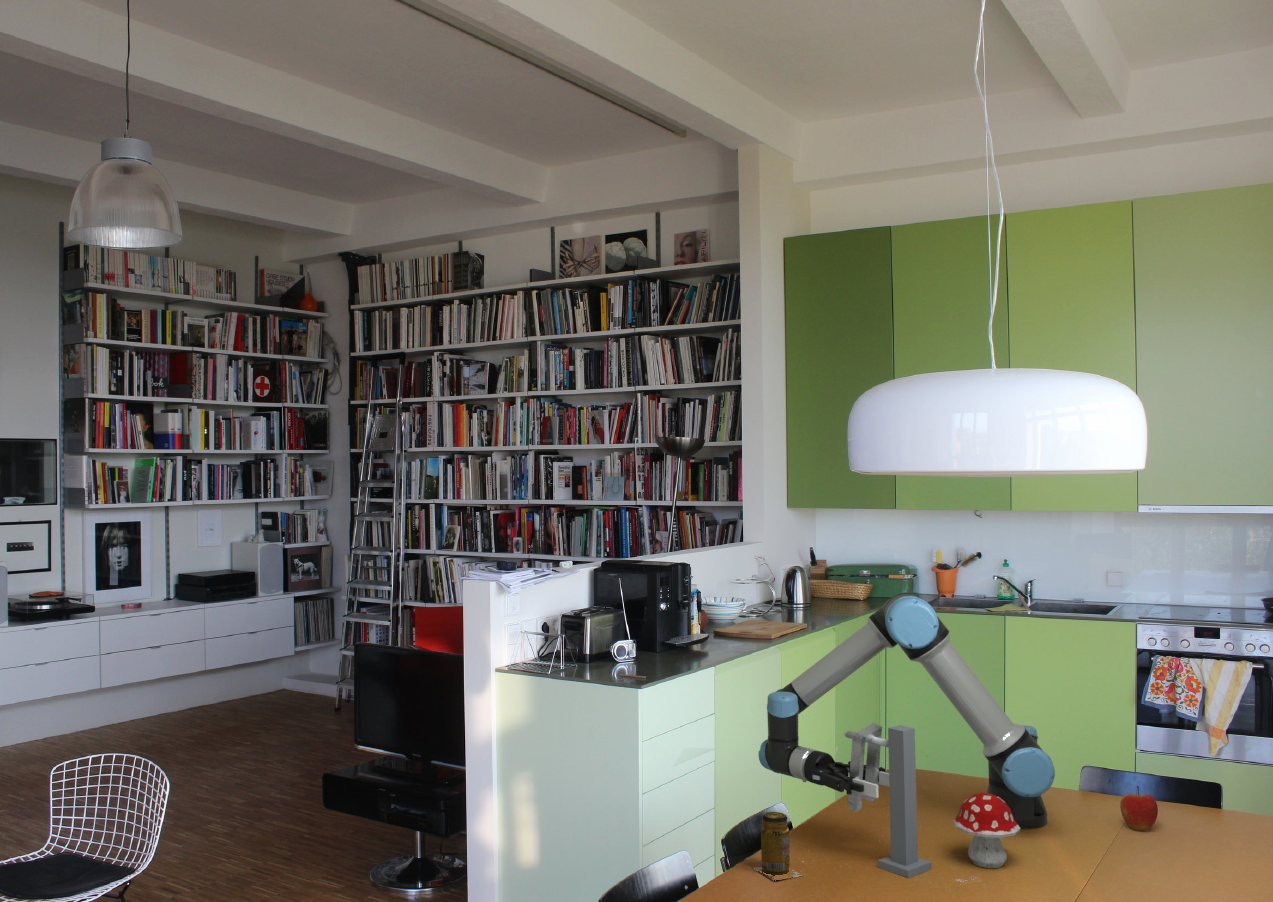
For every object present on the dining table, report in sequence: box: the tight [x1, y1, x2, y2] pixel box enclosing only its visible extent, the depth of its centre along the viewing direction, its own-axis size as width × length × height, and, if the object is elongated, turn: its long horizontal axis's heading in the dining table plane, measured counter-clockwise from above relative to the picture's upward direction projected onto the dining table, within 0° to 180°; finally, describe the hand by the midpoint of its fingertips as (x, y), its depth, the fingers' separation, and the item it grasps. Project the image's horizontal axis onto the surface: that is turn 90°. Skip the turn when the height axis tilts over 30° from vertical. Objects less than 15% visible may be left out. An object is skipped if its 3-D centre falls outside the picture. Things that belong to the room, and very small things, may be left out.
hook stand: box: [844, 725, 932, 879], centre depth 219 cm, size 20×8×30 cm, turn 38°
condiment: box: [752, 811, 803, 882], centre depth 212 cm, size 7×8×12 cm
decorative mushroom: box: [953, 792, 1021, 869], centre depth 216 cm, size 14×14×15 cm
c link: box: [847, 722, 883, 813], centre depth 222 cm, size 8×2×18 cm, turn 133°
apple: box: [1119, 785, 1159, 832], centre depth 237 cm, size 8×8×10 cm
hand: (890, 787), depth 217 cm, fingers closed on c link, 8 cm apart
